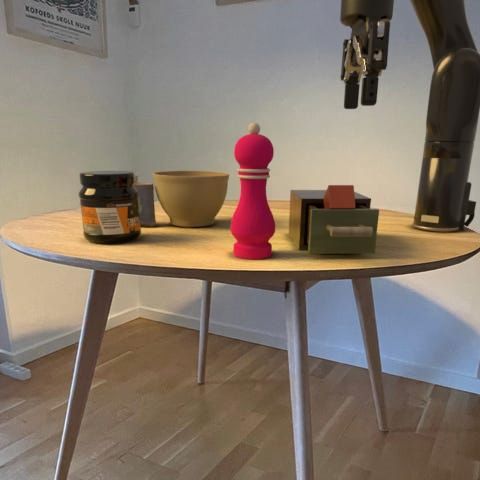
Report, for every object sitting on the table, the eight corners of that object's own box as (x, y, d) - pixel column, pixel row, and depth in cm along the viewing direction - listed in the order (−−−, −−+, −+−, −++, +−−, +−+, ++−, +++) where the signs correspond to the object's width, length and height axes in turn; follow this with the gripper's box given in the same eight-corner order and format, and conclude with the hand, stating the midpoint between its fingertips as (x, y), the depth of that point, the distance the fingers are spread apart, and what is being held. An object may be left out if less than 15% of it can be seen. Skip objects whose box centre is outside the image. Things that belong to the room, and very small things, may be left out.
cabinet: (366, 249, 80) (371, 198, 77) (299, 250, 80) (301, 198, 77) (346, 234, 93) (350, 189, 90) (288, 234, 93) (290, 189, 90)
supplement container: (111, 247, 81) (104, 175, 77) (71, 240, 87) (63, 172, 82) (153, 237, 89) (149, 172, 85) (114, 231, 95) (108, 169, 90)
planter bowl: (174, 233, 93) (172, 176, 89) (144, 221, 106) (141, 171, 102) (243, 226, 101) (243, 173, 97) (207, 216, 114) (206, 169, 110)
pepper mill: (229, 250, 80) (228, 123, 72) (271, 249, 80) (274, 123, 73) (232, 260, 73) (231, 121, 66) (277, 259, 74) (282, 121, 66)
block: (349, 219, 76) (347, 197, 77) (355, 208, 72) (353, 184, 73) (324, 219, 76) (323, 197, 77) (330, 208, 72) (328, 184, 73)
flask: (158, 225, 101) (155, 174, 97) (149, 228, 99) (145, 175, 95) (125, 222, 105) (121, 172, 101) (116, 224, 103) (111, 173, 99)
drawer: (384, 261, 69) (390, 214, 67) (315, 261, 69) (318, 214, 67) (354, 237, 86) (357, 199, 83) (297, 237, 85) (299, 199, 83)
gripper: (330, -2, 74) (324, 110, 80) (359, -33, 61) (349, 104, 67) (376, -1, 75) (366, 110, 80) (415, -32, 61) (400, 104, 67)
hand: (358, 107), depth 73 cm, fingers open, 8 cm apart
